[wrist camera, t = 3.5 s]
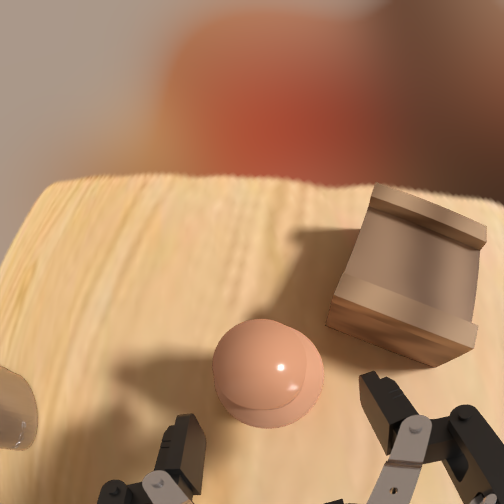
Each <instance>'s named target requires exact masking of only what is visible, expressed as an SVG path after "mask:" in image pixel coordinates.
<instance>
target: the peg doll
mask: <svg viewBox="0 0 504 504" xmlns="http://www.w3.org/2000/svg"><path fill="white" fill-rule="evenodd" d="M212 366H213V374H214V382H215V388H216V392H217V395H218V398H219V399H220V401H221V403H222V405H223V406H224V408H225V409H226V410H227V411H228V412H229V413H230V414H231V415H232V416H233V417H235V418H236V419H237V420H239V421H241V422H243V423H245V424H247V425H250V426H253V427H258V428H279V427H283V426H286V425H289V424H291V423H293V422H295V421H297V420H299V419H300V418H302V417H303V416H304V415H306V414H307V413H308V412H309V411H310V410H311V408H312V407H313V406H314V405H315V403H316V401H317V400H318V398H319V396H320V393H321V391H322V387H323V382H324V368H323V362H322V359H321V356H320V354H319V352H318V350H317V349H316V347H315V345H314V344H313V343H312V342H311V341H310V340H309V339H308V338H307V337H306V336H305V335H304V334H302V333H301V332H299V331H297V330H295V329H293V328H291V327H288V326H285V325H283V324H282V323H279V322H277V321H273V320H269V319H253V320H248V321H245V322H242V323H240V324H238V325H236V326H234V327H233V328H232V329H230V330H229V331H228V332H227V333H226V334H225V335H224V336H223V337H222V338H221V340H220V341H219V343H218V345H217V347H216V349H215V352H214V356H213V364H212Z"/></svg>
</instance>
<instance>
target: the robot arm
mask: <svg viewBox="0 0 504 504" xmlns="http://www.w3.org/2000/svg"><path fill="white" fill-rule="evenodd" d="M359 389H360V401H361V405H362V408H363V410H364V412H365V414H366V416H367V418H368V420H369V422H370V424H371V426H372V428H373V430H374V432H375V434H376V436H377V438H378V440H379V441H380V443H381V445H382V447H383V450H384V452H385V454H386V456H387V455H390V457H389V459H388V461H386V463H385V464H384V467H383V469H382V471H381V474H380V476H379V478H378V481H377V483H376V485H375V487H374V489H373V492H372V494H371V496H370V498H369V500H368V502H367V504H409V503H410V500H411V498H412V495H413V492H414V489H415V486H416V483H417V480H418V477H419V474H420V471H421V467H422V464H426V463H431V462H436V461H440V460H441V461H442V463H443V465H444V466H445V468H446V470H447V472H448V474H449V476H450V478H451V480H452V482H453V484H454V486H455V487H456V489H457V491H458V493H459V495H460V497H461V499H462V501H463V503H464V504H504V444H503V443H502V441H501V440H500V439H499V437H498V436H497V435H496V433H495V432H494V431H493V429H492V428H491V427H490V425H489V424H488V423H487V422H486V420H485V419H484V418H483V416H482V415H481V414H480V413H479V411H478V410H477V409H476V408H475V407H474V406H471V405H460V406H458V407H456V408H455V409H453V410H452V412H451V413H450V416H448V417H443V418H439V419H429V418H428V417H426V416H423V415H419V414H418V413H417V411H416V410H415V408H414V407H413V406H412V404H411V403H410V401H409V400H408V399H407V397H406V396H405V395H404V393H403V392H402V390H401V389H400V388H399V386H398V385H397V383H396V382H395V381H394V380H392V379H390V378H388V377H384V378H382V379H380V378H379V377H378V375H377V374H376V372H375V371H371V372H368V373H366V374H363V375H360V376H359ZM37 419H38V417H37V407H36V402H35V398H34V395H33V392H32V390H31V388H30V386H29V384H28V383H27V382H26V380H25V379H24V378H23V377H21V376H20V375H18V374H15V373H13V372H10V371H8V369H6V368H4V367H1V366H0V448H2V449H10V450H22V451H23V450H25V449H27V448H28V447H30V446H31V444H32V443H33V441H34V438H35V435H36V431H37ZM160 448H161V449H160V450H159V454H158V457H157V461H156V465H155V469H154V471H153V472H150V473H149V474H147V475H146V476H145V477H144V479H143V482H139V483H135V484H130V485H126V484H125V483H124V482H122V481H120V480H111V481H108V482H107V483H105V484H104V485H103V487H102V489H101V492H100V495H99V498H98V502H97V504H194V503H193V502H192V498H193V495H201V488H202V478H203V469H204V459H205V450H206V438H205V434H204V432H203V430H202V429H201V427H200V425H199V423H198V421H197V419H196V417H195V416H194V414H184V415H178V416H177V418H176V422H175V425H173V426H169V427H168V429H167V430H166V431H165V432H164V435H163V439H162V442H161V446H160ZM325 504H344V503H343V499H339V500H336V501H332V502H329V503H325ZM348 504H355V503H348Z"/></svg>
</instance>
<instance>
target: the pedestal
mask: <svg viewBox="0 0 504 504" xmlns="http://www.w3.org/2000/svg"><path fill="white" fill-rule="evenodd" d="M486 242H487V226H485V225H482V224H480V223H478V222H476V221H474V220H472V219H469V218H467V217H465V216H463V215H460V214H458V213H456V212H453V211H451V210H449V209H446V208H444V207H441V206H439V205H436V204H434V203H431V202H429V201H426V200H424V199H421V198H419V197H416V196H413V195H411V194H408V193H405V192H403V191H400V190H397V189H394V188H391V187H388V186H386V185H383V184H380V183H377V182H376V183H375V186H374V189H373V192H372V195H371V199H370V203H369V207H368V210H367V213H366V215H365V218H364V221H363V224H362V227H361V229H360V232H359V235H358V238H357V240H356V243H355V246H354V248H353V251H352V253H351V256H350V259H349V261H348V264H347V266H346V269H345V271H344V273H342V276H341V278H340V280H339V283H338V285H337V288H336V290H335V292H334V295H333V299H332V302H331V306H330V310H329V314H328V317H327V321H326V325H325V326H328V327H330V328H333V329H335V330H338V331H340V332H343V333H345V334H348V335H350V336H353V337H355V338H358V339H360V340H363V341H365V342H368V343H371V344H373V345H376V346H378V347H381V348H384V349H386V350H389V351H391V352H394V353H397V354H399V355H402V356H405V357H407V358H410V359H413V360H416V361H418V362H421V363H424V364H427V365H429V366H432V367H438V366H440V365H442V364H444V363H446V362H448V361H450V360H453V359H455V358H457V357H459V356H461V355H463V354H465V353H467V352H469V351H470V350H472V349H474V346H475V341H476V336H477V330H478V325H476V324H473V323H471V322H472V316H473V310H474V304H475V297H476V289H477V280H478V270H479V257H480V250H481V249H482V247H483V246H484V245H485V244H486Z"/></svg>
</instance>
